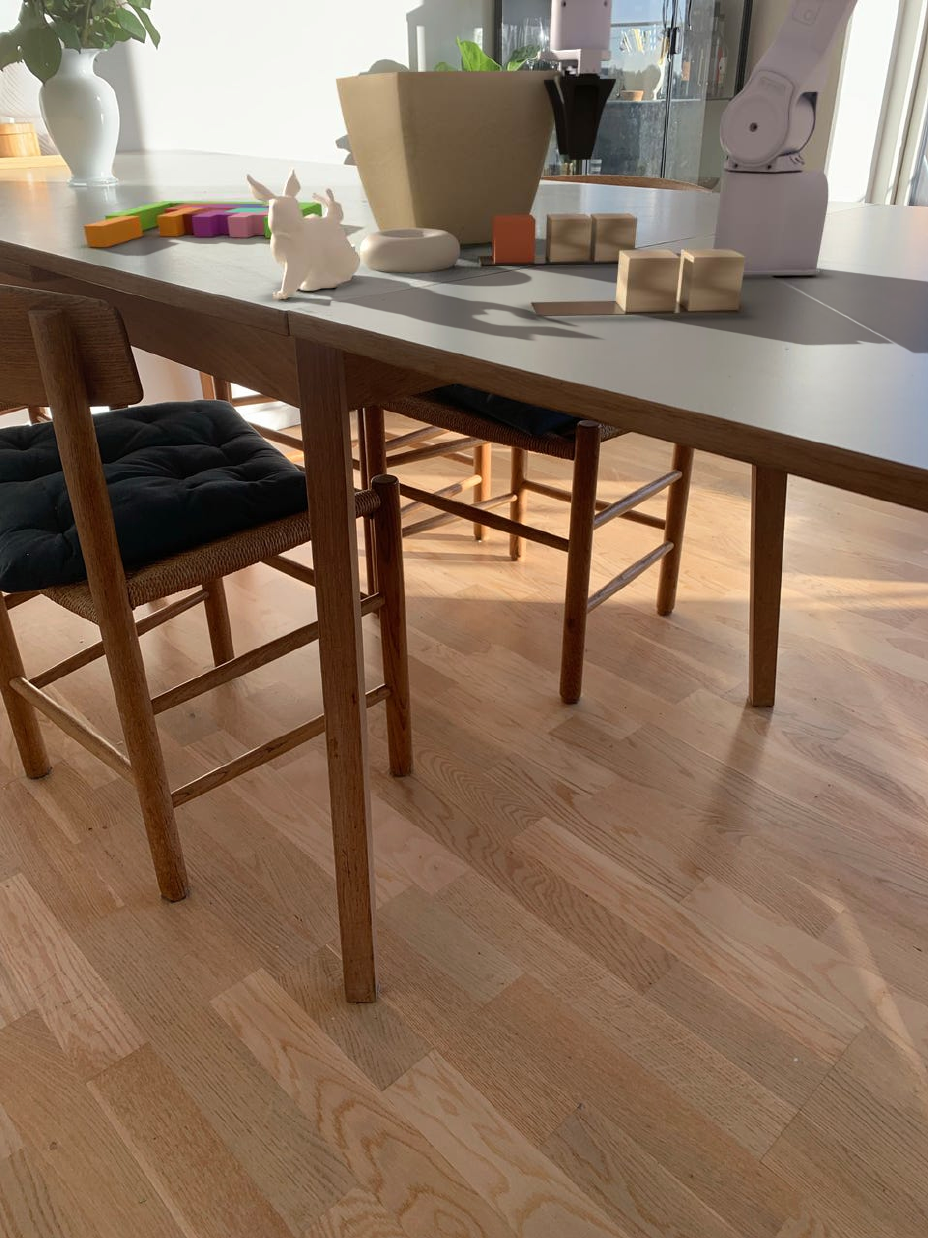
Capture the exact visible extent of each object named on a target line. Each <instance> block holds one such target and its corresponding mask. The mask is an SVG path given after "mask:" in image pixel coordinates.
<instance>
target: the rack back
mask: <svg viewBox="0 0 928 1238" xmlns="http://www.w3.org/2000/svg"><path fill="white" fill-rule="evenodd" d="M637 227H638V218H637V217H636V216H634V215H633V214H632V213H630V212H623V213H622V212H621V213H619V212H618V213H615V212H613V213H611V212H610V213H590V216H588V214H586V213H552V214H551V213H550V214H549V213H548V214H546V228H545V229H546V233H545V254H535V258H534V263H495V262H494V260H493V257H492V255H478V256H477V261H478V263H479V264H478V265H479V267H483V268H484V267H485V268H486V267H487V268H488V267H540V266H541V267H542V266H543V267H545V266H548V267H549V266H605V265H606V266H608V265H609V266H610V265H611V266H613V265H614V266H615V265H617V266H618V264H619V251H620V250H636V242H637V241H636V240H637Z"/></svg>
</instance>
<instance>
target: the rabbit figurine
mask: <svg viewBox="0 0 928 1238" xmlns="http://www.w3.org/2000/svg"><path fill="white" fill-rule="evenodd" d="M245 178H246V181H247V182H248V186H249V190H250V193H251V195H252V196H253V198H255V199H256V200H257V201H259V202H264V203H266V204H268V205H269V206H270V209H269V215H268V225H269V228H270V230H271V232H272V236H271V238H270V251H271V255H272V256H273V259H274V260H275V262H276V263H277V264H278V265H279V266H280V267H282V268H283V269H284V274H283V280H282V285H281V290H278V291H274V292H273V293H272V295H273V296H272V299H274V300H276V299H278V300H281V299H283V300H286V299H288V298H290V297H293V296H294V295H295V293H296V292H297V290H300V291H304V292H305V291H317V290H320V289H333V288H338V286H339V284H341V283H344V282H348V281H351V280H352V278H353V277H352V276H354V275H355V274H356V272H357V271H358V270H359V268H360V264H361V256H360V254H359V253H358V252H357V251H356V245H355V243H352V244H351V243H350V241H349V240H348V238H347V234H346V232H345V230H344V228H343V225H342V224H341V222H343V221H344V217H345V215H344V211H343V207H342V204H341V203H340V202H338V201H335V196H334V193H333V190H332V189H331V188H326V189H325V192H326V197H327V198H328V199H326V198H325V197H323V196H321V195H320V194H317V193H316V192H313V193H312V200H313V201H314V202H317V203H319V204H321V206H323V207H325V208H326V211H325V214H324V215H322V217H320V216H318V215H315V214H311V215H308V216H306V217H303V214H302V211H301V207H300V204H299V202H300V201H298V199H297V198H296V196H297V195H298V194H299V193H300V191H301V189H302V187H301V184H300V182H299V179H298V178H297V175H296V173H295V168H294V167H292V168H291V169H290V171H289V175H288V177H287V179H286V182H285V186H284V189H283V193H282V195H280V196H279V195H278V196H277V195H276V194H274V193H273V192H272V191H271V190H270V189H269V188H267V187H266V186H265V185H263V184H262V183H261V182H258V181H256V180H255V179H254V178H253V177H252V176H251V175H250V174H248V173H247V174H246V175H245Z"/></svg>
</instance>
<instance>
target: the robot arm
mask: <svg viewBox="0 0 928 1238" xmlns="http://www.w3.org/2000/svg"><path fill="white" fill-rule="evenodd" d="M858 2H859V0H791V2H790V4H789V6H788V9H787V11H786V13H785V15H784V18H783V20H782V22H781V25H780V27H779V29H778V32H777V34H776V36H775V39H774V40H773V42H772V43H771V45H770V46H769V47H768V48H767V50H766V51H765V52H764V54H763V55H762V56H761V57H760V59H759V60H758V62H756V65H755V66H754V68H753V71H752V72H751V75H750V77H749V79H748V81H747V83H746V84H745V86H744V87H743V88H742V90H740V91H739V92H738V93H737V94H736V95H735V96H734V97H733V98H732V99H731V100H730V102H729V103H728V104H727V106H726V108H725V109H724V112H723V113H722V117H721V120H720V124H719V140H720V144H721V147H722V150H723V152H724V153H725V155H726V156H727V160H726V161H725V162H723V167H722V168H723V170H722V177H721V185H720V193H719V200H718V210H717V217H716V225H715V233H714V240H713V241H714V242H713V249H732V250H734V251H735V252H737V253H739V254H741V255H743V256H745V257H746V258H745V265H744V272H743V276H744V275H748V276H749V275H751V276H752V275H768V276H770V277H778V276H779V277H780V276H781V277H784V276H785V277H786V276H788V277H789V276H790V277H791V276H818V275H819V273H820V270H819V269H818V268H817V267H818V261H819V255H820V250H821V244H822V239H823V233H824V228H825V221H826V215H827V210H828V206H829V181H828V178H827V176H826V174H825V172H823V170H819V169H805V165H806V161H805V160H804V157H803V154H802V153H801V152H802V151H803V150H805V148H806V147H807V146H808V145H809V144H810V142H811V140H812V138H813V137H814V134H815V131H816V129H817V123H818V106H819V102H820V98H821V96H822V94H823V92H824V90H825V88H826V86H827V82H828V77H829V76H828V75H829V70H830V69H829V68H830V62H831V60H832V59H831V58H832V56H833V54H834V52H835V50H836V48H837V46H838V44H839V42H840V39H841V38H842V35H843V33H844V31H845V29H846V27H847V24H848V23H849V21H850V18H851V16H852V14H853V12H854V10H855V8H856V5H857V3H858ZM612 8H613V0H551V14H550V44H549V45H550V46H549V50H544V51H543V50H541V51H540V50H539V51H537V60H538V61H544V60H546V61H548V62H551V63H558V71H560V75H561V76H555V79H551V80H544V84H545V87H546V90H547V92H548V95H549V98H550V101H551V105H552V109H553V114H554V127H555V128H554V129H555V137H556V138H555V139H556V145H557V150H558V154H559V155H560V156H568V159H569V161H591V160H592V157H593V153H594V150H595V146H596V142H597V137H598V134H599V128H600V123H601V120H602V117H603V113H604V110H605V108H606V104H607V102H608V100H609V98H610V95H611V94H612V92H613V89H614V87H615V85H616V83H617V78H601V76H600V75H598V74H601V73H602V65H603V64H602V62H609V61H611V59H612V50H610V44H611V43H610V41H611V25H612Z"/></svg>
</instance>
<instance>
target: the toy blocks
mask: <svg viewBox="0 0 928 1238" xmlns="http://www.w3.org/2000/svg"><path fill="white" fill-rule="evenodd" d="M298 202H299V204H300V207H301V211H302V214H303V217H306V216H308V215H311V214H315V215H318V216H320V217H322V216H323V209H322V205H321V204H319V203H317V202H315V201H314V202H312V201H311V202H309V201H308V202H307V201H306V202H305V201H303V202H300V201H298ZM269 209H270V206H269V205H268V204H266V203H264V202H262V201H208V200H207V201H205V200H204V201H203V200H202V201H201V200H200V201H198V200H197V201H196V200H195V201H194V200H191V201H190V200H161V201H158V202H153V203H149V204H146V205H145V204H144V205H142V206H138V207H133V208H129V209H125V210H122V211H117V212H114V213H109V214H105V215H104V218H105V219H104V220H100V221H96V222H93V223H89V224H85V225H83V230H84V235H85V239H86V243H87V247H88V248H109V247H112V246H115V245H118V244H122V243H124V242H127V241H131V240H135V239H138V238H140V237H141V238H142V237H143V236H144V234H143V231H146V230H149V229H152V228H156V227H158V232H159V237H179V236H183V235H194V238H213V237H216V236H219V235H229V238H250V237H253V236H265V239H271V236H272V232H271V230H270V228H269V225H268V215H269Z"/></svg>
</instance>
